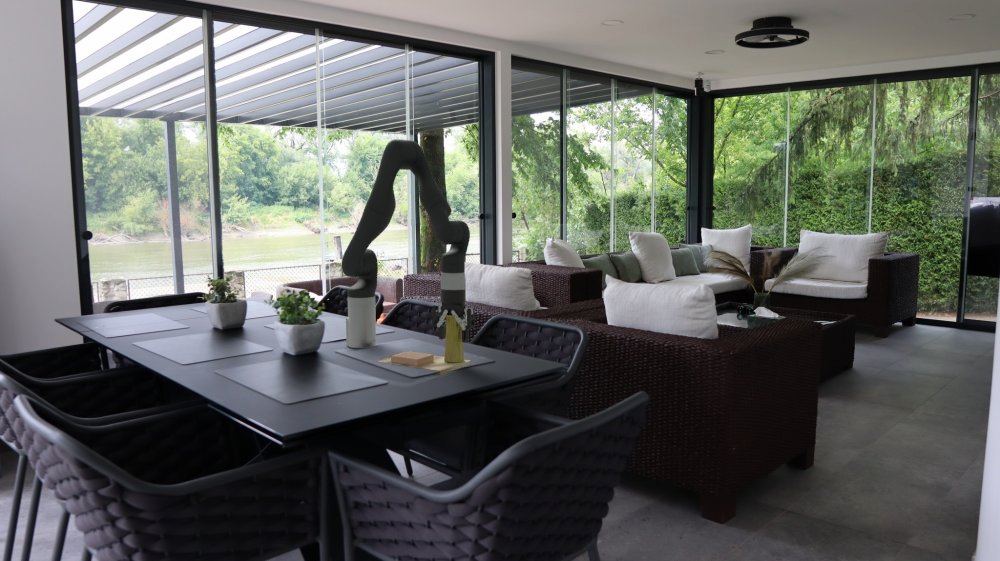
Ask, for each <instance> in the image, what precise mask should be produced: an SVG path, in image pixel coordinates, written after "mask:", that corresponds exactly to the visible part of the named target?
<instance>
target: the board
mask: <svg viewBox="0 0 1000 561" xmlns="http://www.w3.org/2000/svg"><path fill="white" fill-rule="evenodd" d="M444 357H445V356H441V355H434V361H432V362H429V363H426V364H423V365H420V366H413V365H406V364H399V363H393V362H391V356H390V357H386V358H383V359H379V360H376V361H375V362H377V363H384V364H385V363H386V364H391V365H395V366H396V365H398V366H404V367H409V368H410V367H411V368H416V369H417V368H418V369H424V370H425V369H426V370H432V371H437V372H433V373H432V374H433V375H439V376H440V375H444V374H447V373H450V372H453V371H456V370H459V369H461V367H462V368H464V366H465V367H467V365H468V366H470V365H472V361H471V359H464V361H463V362H459V363H449V362H445V361H444Z"/></svg>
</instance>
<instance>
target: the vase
mask: <svg viewBox="0 0 1000 561" xmlns="http://www.w3.org/2000/svg"><path fill="white" fill-rule="evenodd" d="M460 319H461V320H463V317H460ZM462 330H463V329H462V327H461V326H460V324H458V322H457V321H456V319H455V316H450V315H446V324H445V350H444V356H443V357H444V361H445V362H449V363H459V362H463V361H464V360H465V356H464V355H465V354H464V353H465V352H464V342H462Z"/></svg>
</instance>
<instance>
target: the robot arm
mask: <svg viewBox="0 0 1000 561" xmlns="http://www.w3.org/2000/svg"><path fill="white" fill-rule="evenodd" d="M400 170H401V171H402V170H407V171H411V173H412V174H413V175H414V177H415V178H416V180H417V182H418V196H419V200H420V203H421V205H422V207H423V208H424V210H425V212H426V213H427V215H428V217H429V219H430V222H431V226H432V229H433V233H434V236H435V238H436V240H437V241H439V242H440V243H441V244H443V245H450V247H449V250H448V251H446V252H444V253H443V254H442V255H441V260H440V262H441V263H440V264H441V268H440V270H441V275H440V302H441V304H435V305H432V309H431V310H432V314H431V316H432V317H431V324H432V325H435V326H436V327H437V337H438V339H439V340H441V341H442V340H446V315H450V316H455V319H456V321H457V322H458V324H460V326H461V327H462V329H463V330H462V342H463V343H467V342H468V341H469V339H470V329H473V328H475V327H476V317H475V316H476V314H475V312H476V311H475V308H474V307H470V308H467V307H466V306H465V305H466V301H467V300H466V299H467V297H466V295H467V292H466V291H467V290H466V287H467V284H466V283H467V282H466V280H467V278H466V264H465V263H466V261H465V260H466V255H467V252H468V248H469V243H470V237H471V232H470V228H469V225H468V224H467V222H465V221H463V220H450V219H448V218H450V216H451V214H452V207H451V205H450V204H449V202H448V201H447V199H446V197H445V196H444V194H443V193H442V191H441V189H440V188H439V185H438V184H437V181H436V179H435V177H434V174H433V171H432V169H431V167H430V165H429V162H428V160H427V158H426V155H425V153H424V151H423V149H422V147H421V145H420V144H419V143H418V142H417V141H415V140H411V139H398V138H397V139H392V140H390V141H389V142H387V144H386V145H385V147H384V150H383V152H382V156H381V160H380V164H379V167H378V170H377V174H376V178H375V179H374V180H375V181H374V183H373V185H372V186H373V187H372V189H371V192H370V194H369V197H368V199H367V201H366V203H365V206H364V209H363V211H362V214H361V217H360V220H359V223H358V225H357V227H356V230H355V231H354V233H353V235H352V238H351V240H350V241H349V244H348V246H347V248H346V249H345V251H344V253H343V255H342V259H341V271H342V273H343V274H344V275H345V276H346V277H348V278H349V277H350V278H358V280H357V281H356V282H355V284H353V285H351V286H350V287H348V289H347V318H346V319H345V335H346V336H345V338H346V346H347V347H349V348H351V349H368V348H372V347H376V346H377V333H376V332H377V329H376V328H377V321H376V319H377V318H376V316H377V315H376V292H377V287H378V273H379V272H378V271H379V269H378V268H379V266H378V263H379V262H378V257H377V254H376V253H375V251H374V250H372V249H369V246H370V245H371V243H373V241H375V239H377V238H378V237H379V236H380V235H381V234H382V233H383V232H385V230H386V229H387V227H388V226H389V224H390V223H391V221H392V218H393V216H394V213H395V211H396V207H397V205H396V204H397V203H396V196H395V192H394V184H395V181H396V177H397V176H398V173H399V171H400ZM441 313H442V314H441ZM460 317H463V320H461V319H460Z"/></svg>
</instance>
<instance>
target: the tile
mask: <svg viewBox="0 0 1000 561" xmlns="http://www.w3.org/2000/svg"><path fill="white" fill-rule="evenodd" d="M434 356H435V355H434V354H433V353H424V352H417V351H410V350H406V351H403V352H399V353H396V354H392V355H391V356H390V357H391V362H393V363H399V364H406V365H413V366H420V365H423V364H426V363H429V362H432V361H434Z"/></svg>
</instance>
